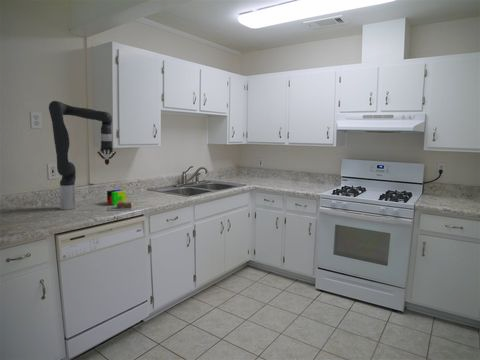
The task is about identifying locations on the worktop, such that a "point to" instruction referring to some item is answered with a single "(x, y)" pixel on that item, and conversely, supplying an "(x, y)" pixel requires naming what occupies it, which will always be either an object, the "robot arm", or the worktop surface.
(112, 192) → the puzzle toy
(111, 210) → the slate mat
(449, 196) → the worktop surface
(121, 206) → the walnut block
